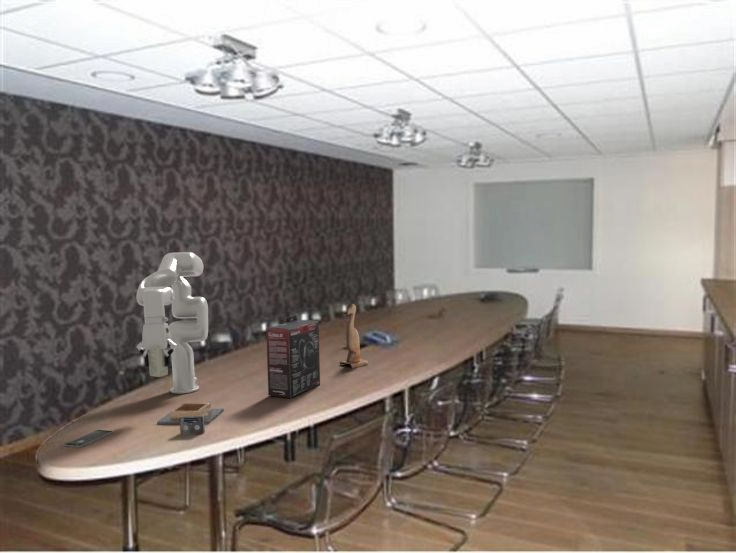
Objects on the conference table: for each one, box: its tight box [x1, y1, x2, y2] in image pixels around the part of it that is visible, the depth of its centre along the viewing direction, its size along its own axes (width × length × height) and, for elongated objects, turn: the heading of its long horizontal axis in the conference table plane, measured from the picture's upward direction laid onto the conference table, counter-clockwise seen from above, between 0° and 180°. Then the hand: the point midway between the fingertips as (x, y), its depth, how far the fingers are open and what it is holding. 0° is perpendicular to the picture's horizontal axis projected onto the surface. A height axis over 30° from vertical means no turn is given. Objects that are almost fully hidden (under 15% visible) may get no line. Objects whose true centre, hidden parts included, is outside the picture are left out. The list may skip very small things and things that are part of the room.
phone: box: [64, 429, 114, 449], centre depth 214 cm, size 8×1×16 cm
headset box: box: [265, 315, 321, 399], centre depth 267 cm, size 24×13×33 cm, turn 154°
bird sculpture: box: [339, 303, 369, 369], centre depth 313 cm, size 11×12×32 cm
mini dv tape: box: [179, 416, 206, 435], centre depth 216 cm, size 8×2×6 cm, turn 88°
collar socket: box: [156, 402, 225, 425], centre depth 235 cm, size 16×20×4 cm
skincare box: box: [148, 346, 169, 378], centre depth 238 cm, size 6×4×12 cm
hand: (158, 365), depth 238 cm, fingers closed on skincare box, 7 cm apart
